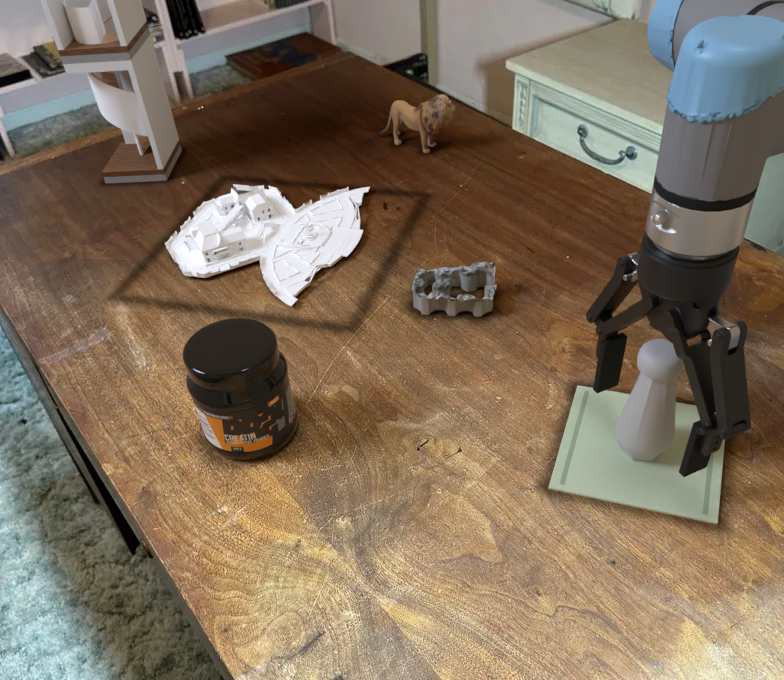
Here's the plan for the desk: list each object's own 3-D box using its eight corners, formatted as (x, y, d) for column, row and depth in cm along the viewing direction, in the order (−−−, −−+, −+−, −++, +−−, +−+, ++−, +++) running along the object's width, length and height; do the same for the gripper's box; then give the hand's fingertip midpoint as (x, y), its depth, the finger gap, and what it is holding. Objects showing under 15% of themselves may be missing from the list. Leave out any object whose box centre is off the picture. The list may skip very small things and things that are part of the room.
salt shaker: (672, 470, 77) (700, 370, 67) (613, 466, 78) (633, 367, 68) (667, 429, 81) (693, 330, 71) (611, 426, 82) (630, 327, 72)
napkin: (577, 387, 87) (577, 384, 86) (726, 412, 82) (727, 410, 82) (548, 489, 77) (548, 487, 76) (717, 525, 72) (717, 522, 72)
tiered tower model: (124, 153, 138) (48, -79, 112) (182, 150, 137) (118, -84, 112) (105, 183, 130) (19, -59, 105) (166, 180, 129) (94, -64, 104)
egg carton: (498, 287, 101) (499, 260, 98) (491, 321, 96) (492, 294, 93) (419, 282, 103) (418, 255, 100) (408, 315, 98) (406, 288, 95)
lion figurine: (460, 145, 131) (459, 91, 124) (444, 158, 128) (443, 103, 121) (387, 131, 137) (383, 78, 130) (371, 143, 134) (366, 89, 127)
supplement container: (193, 461, 83) (161, 377, 74) (221, 396, 90) (195, 312, 81) (287, 467, 81) (266, 381, 72) (308, 400, 88) (291, 314, 80)
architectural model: (130, 286, 106) (120, 259, 103) (231, 176, 127) (226, 151, 124) (316, 310, 99) (312, 282, 96) (391, 189, 120) (389, 163, 117)
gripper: (563, 187, 69) (545, 368, 84) (771, 334, 53) (702, 525, 68) (632, 165, 71) (602, 347, 86) (852, 301, 54) (767, 494, 70)
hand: (646, 426), depth 77 cm, fingers open, 13 cm apart
